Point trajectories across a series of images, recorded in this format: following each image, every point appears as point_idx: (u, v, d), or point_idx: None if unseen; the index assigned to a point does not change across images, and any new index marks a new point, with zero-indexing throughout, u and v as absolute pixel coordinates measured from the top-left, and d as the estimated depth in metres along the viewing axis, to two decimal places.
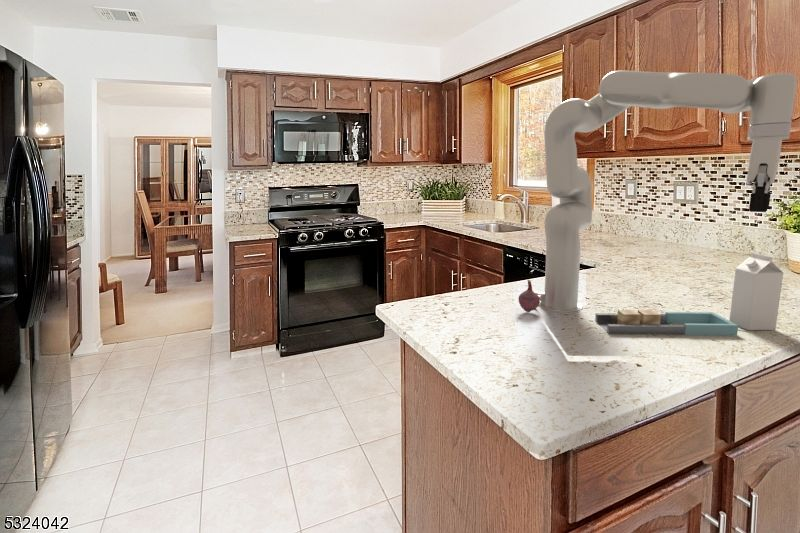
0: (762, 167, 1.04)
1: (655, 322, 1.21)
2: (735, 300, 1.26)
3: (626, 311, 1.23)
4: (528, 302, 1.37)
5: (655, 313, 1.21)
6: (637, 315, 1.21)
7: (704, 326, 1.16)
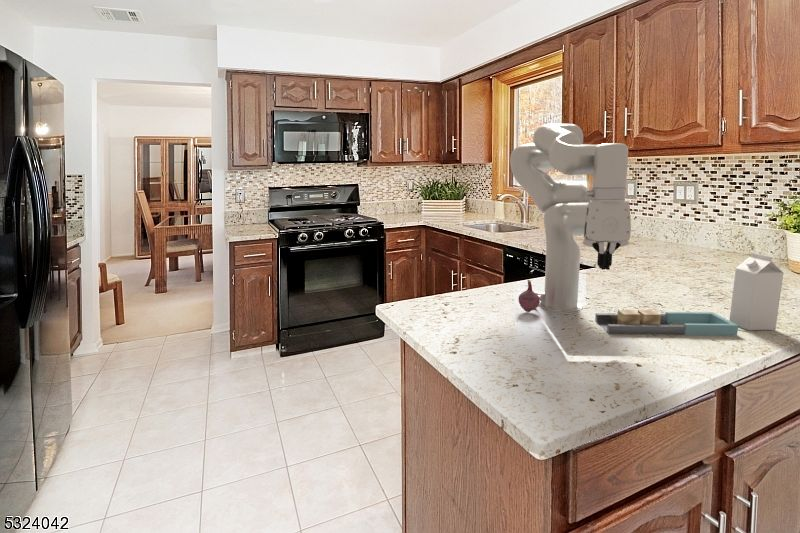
0: None
1: (655, 322, 1.21)
2: (735, 300, 1.26)
3: (626, 311, 1.23)
4: (528, 302, 1.37)
5: (655, 313, 1.21)
6: (637, 315, 1.21)
7: (704, 326, 1.16)
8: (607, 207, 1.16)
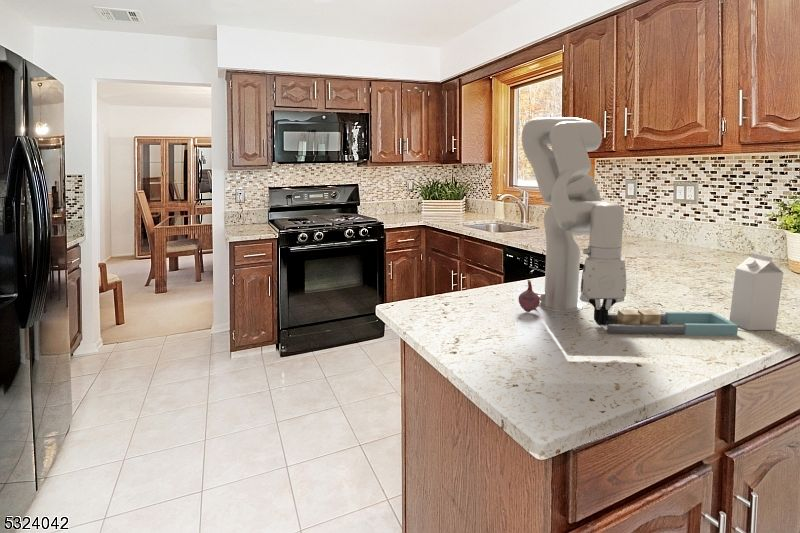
0: None
1: (655, 322, 1.21)
2: (735, 300, 1.26)
3: (626, 311, 1.23)
4: (528, 302, 1.37)
5: (655, 313, 1.21)
6: (637, 315, 1.21)
7: (704, 326, 1.16)
8: (603, 266, 1.18)
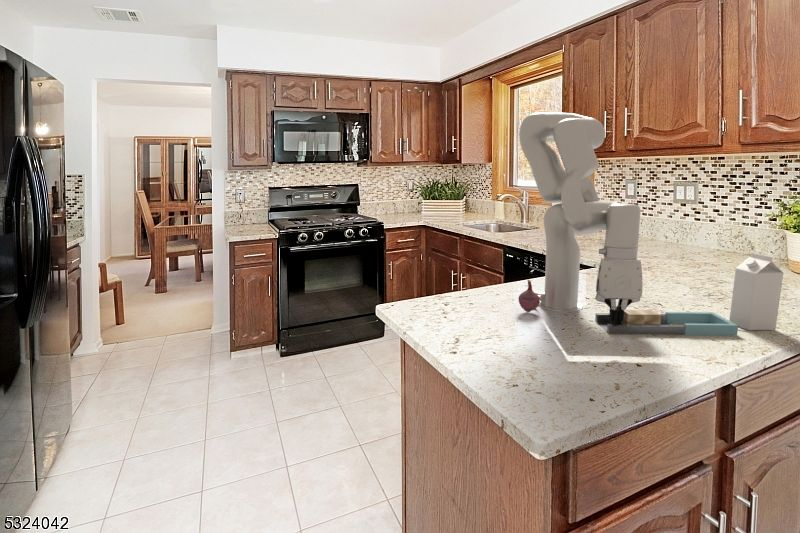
0: None
1: (655, 322, 1.21)
2: (735, 300, 1.26)
3: (631, 311, 1.23)
4: (528, 302, 1.37)
5: (655, 313, 1.21)
6: (642, 315, 1.21)
7: (704, 326, 1.16)
8: (619, 266, 1.18)
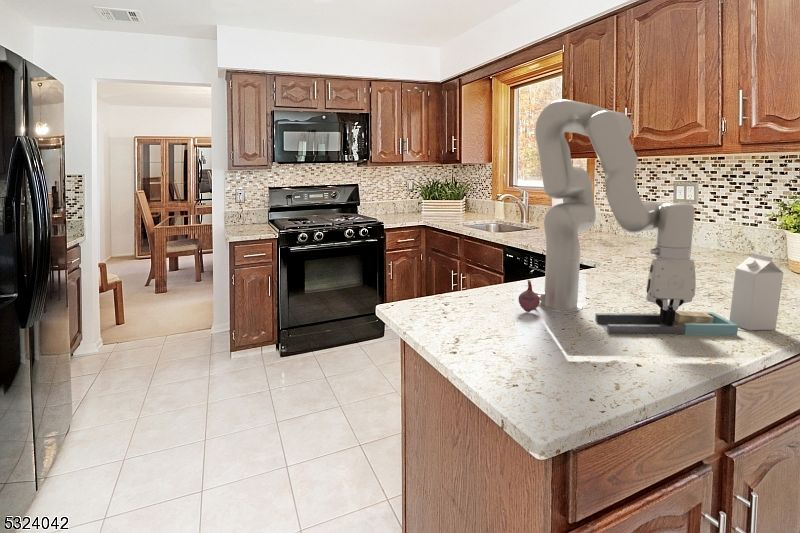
0: None
1: None
2: (735, 300, 1.26)
3: (682, 312, 1.22)
4: (528, 302, 1.37)
5: (707, 315, 1.20)
6: (694, 317, 1.20)
7: (704, 326, 1.16)
8: (672, 266, 1.17)
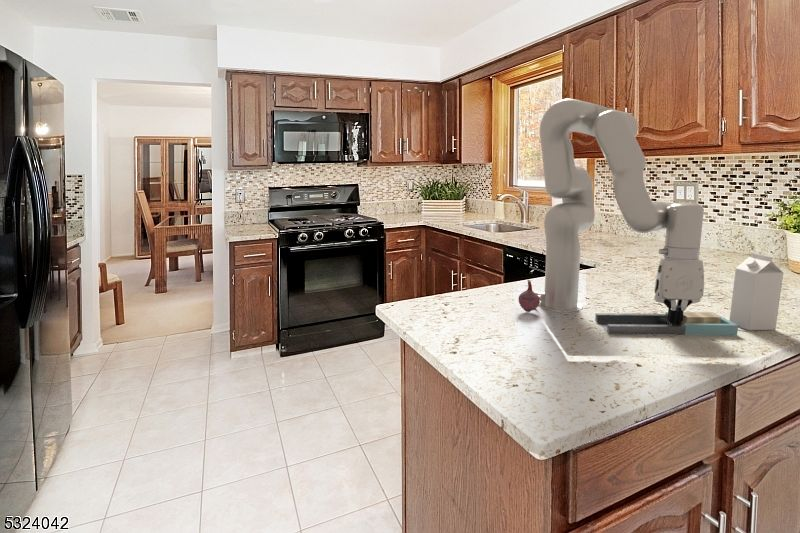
0: None
1: None
2: (735, 300, 1.26)
3: (689, 314, 1.22)
4: (528, 302, 1.37)
5: (715, 316, 1.20)
6: (701, 318, 1.20)
7: (704, 326, 1.16)
8: (681, 266, 1.17)
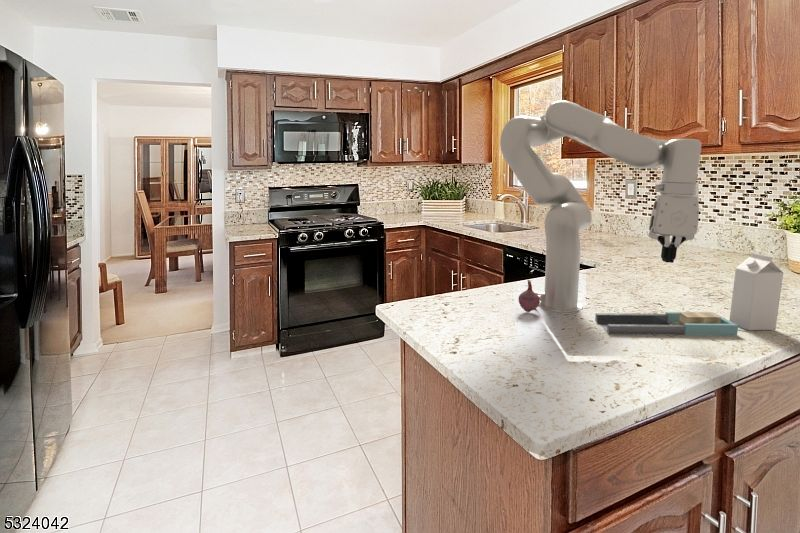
0: None
1: None
2: (735, 300, 1.26)
3: (689, 314, 1.22)
4: (528, 302, 1.37)
5: (715, 316, 1.20)
6: (701, 318, 1.20)
7: (704, 326, 1.16)
8: (676, 201, 1.18)
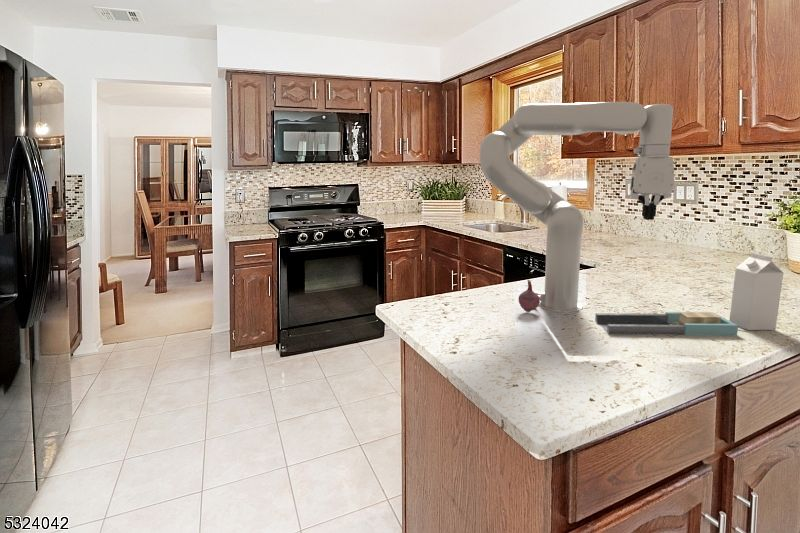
0: None
1: None
2: (735, 300, 1.26)
3: (689, 314, 1.22)
4: (528, 302, 1.37)
5: (715, 316, 1.20)
6: (701, 318, 1.20)
7: (704, 326, 1.16)
8: (653, 162, 1.29)
